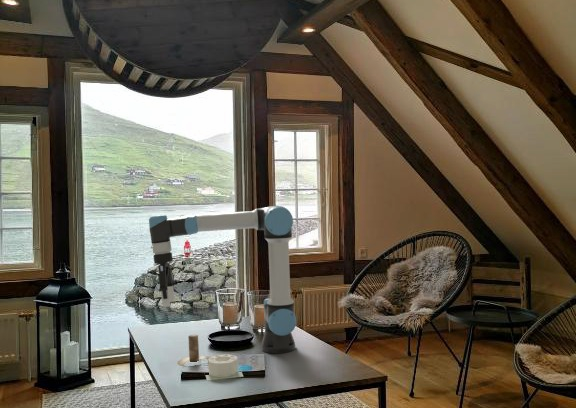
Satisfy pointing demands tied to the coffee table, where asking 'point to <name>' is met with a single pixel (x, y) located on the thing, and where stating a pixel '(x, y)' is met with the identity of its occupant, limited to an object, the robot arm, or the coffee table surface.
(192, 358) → the lid
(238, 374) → the mat
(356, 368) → the coffee table surface
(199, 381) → the coffee table surface
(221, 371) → the bowl
